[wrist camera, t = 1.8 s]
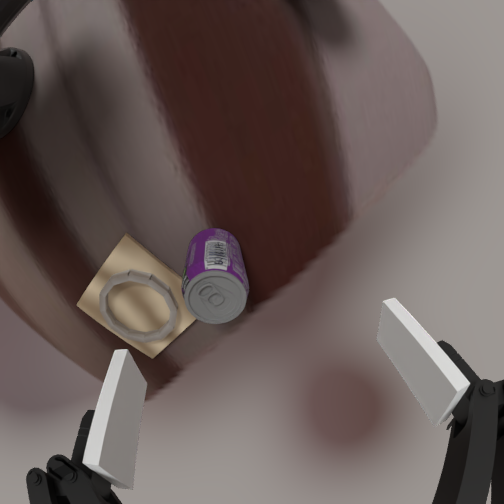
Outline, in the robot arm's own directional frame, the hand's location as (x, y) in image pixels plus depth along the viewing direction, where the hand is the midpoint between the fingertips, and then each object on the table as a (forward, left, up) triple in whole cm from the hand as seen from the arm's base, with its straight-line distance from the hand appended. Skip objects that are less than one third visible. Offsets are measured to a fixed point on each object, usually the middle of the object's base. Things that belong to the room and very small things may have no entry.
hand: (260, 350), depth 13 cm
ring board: (-14, -13, -25) cm, 32 cm away
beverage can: (-2, -5, -26) cm, 26 cm away
